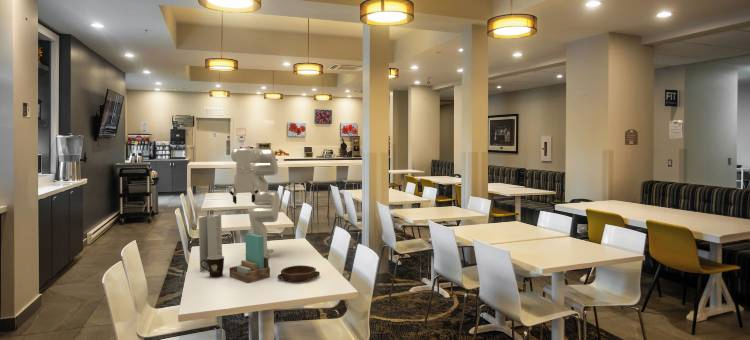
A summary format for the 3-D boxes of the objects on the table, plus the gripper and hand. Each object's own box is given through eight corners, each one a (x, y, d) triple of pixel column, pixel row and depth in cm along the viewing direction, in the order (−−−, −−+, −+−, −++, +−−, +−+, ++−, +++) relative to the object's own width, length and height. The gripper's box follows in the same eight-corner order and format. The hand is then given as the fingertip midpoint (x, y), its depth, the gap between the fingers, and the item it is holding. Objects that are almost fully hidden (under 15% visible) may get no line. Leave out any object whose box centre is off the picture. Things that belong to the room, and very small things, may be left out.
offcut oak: (244, 274, 253) (244, 260, 252) (257, 278, 245) (257, 263, 244) (241, 275, 251) (241, 260, 251) (254, 279, 243) (254, 264, 243)
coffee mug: (228, 274, 253) (227, 256, 252) (217, 278, 245) (217, 260, 244) (210, 272, 257) (209, 254, 256) (199, 276, 249) (199, 258, 248)
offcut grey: (240, 276, 250) (240, 265, 249) (251, 280, 243) (251, 268, 243) (237, 277, 248) (236, 266, 248) (248, 280, 241) (247, 269, 241)
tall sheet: (251, 273, 256) (250, 233, 254) (264, 277, 248) (263, 236, 246) (246, 274, 253) (245, 234, 252) (259, 278, 246) (258, 236, 244)
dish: (275, 276, 250) (275, 267, 249) (315, 272, 257) (315, 263, 257) (279, 285, 233) (279, 276, 233) (323, 281, 240) (322, 271, 240)
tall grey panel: (209, 272, 258) (207, 218, 256) (199, 271, 259) (198, 217, 257) (222, 265, 271) (221, 214, 270) (213, 265, 273) (212, 214, 271)
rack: (252, 271, 259) (251, 253, 258) (270, 276, 248) (269, 258, 247) (229, 276, 248) (229, 258, 248) (247, 282, 237) (247, 263, 237)
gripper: (257, 170, 261) (257, 201, 262) (225, 171, 252) (226, 203, 253) (261, 171, 254) (261, 202, 255) (228, 172, 246) (229, 204, 246)
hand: (244, 202), depth 254 cm, fingers open, 9 cm apart
